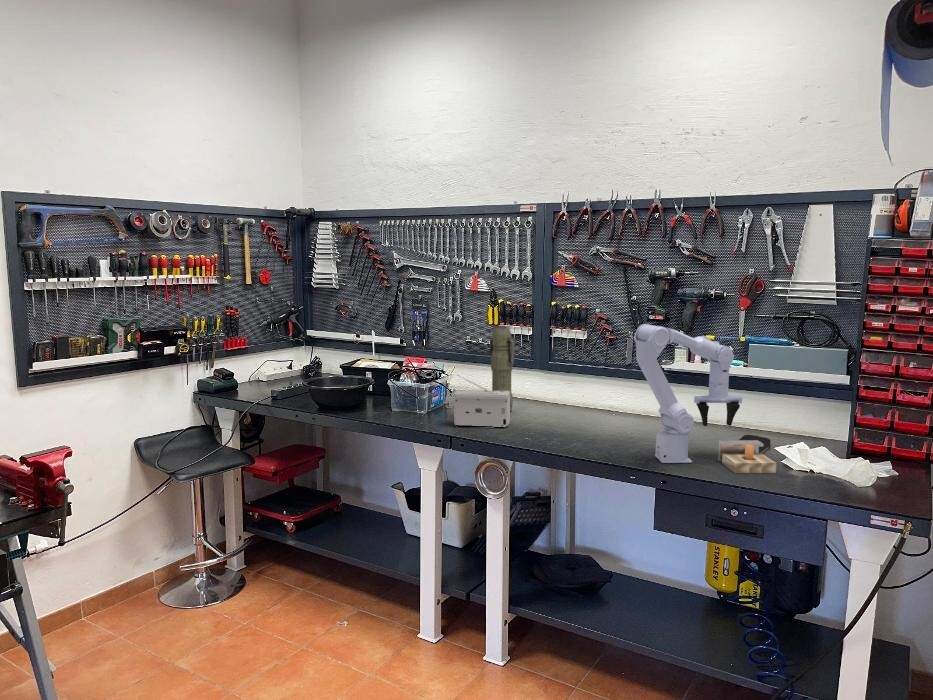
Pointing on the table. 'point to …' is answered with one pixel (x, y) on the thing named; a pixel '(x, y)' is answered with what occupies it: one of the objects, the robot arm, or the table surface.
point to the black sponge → (761, 439)
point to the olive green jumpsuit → (502, 360)
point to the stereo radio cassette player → (481, 407)
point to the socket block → (749, 463)
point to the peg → (749, 452)
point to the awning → (737, 447)
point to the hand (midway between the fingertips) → (716, 425)
